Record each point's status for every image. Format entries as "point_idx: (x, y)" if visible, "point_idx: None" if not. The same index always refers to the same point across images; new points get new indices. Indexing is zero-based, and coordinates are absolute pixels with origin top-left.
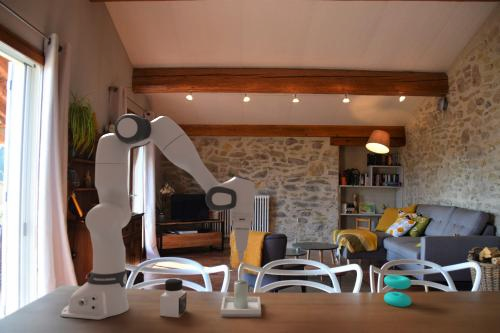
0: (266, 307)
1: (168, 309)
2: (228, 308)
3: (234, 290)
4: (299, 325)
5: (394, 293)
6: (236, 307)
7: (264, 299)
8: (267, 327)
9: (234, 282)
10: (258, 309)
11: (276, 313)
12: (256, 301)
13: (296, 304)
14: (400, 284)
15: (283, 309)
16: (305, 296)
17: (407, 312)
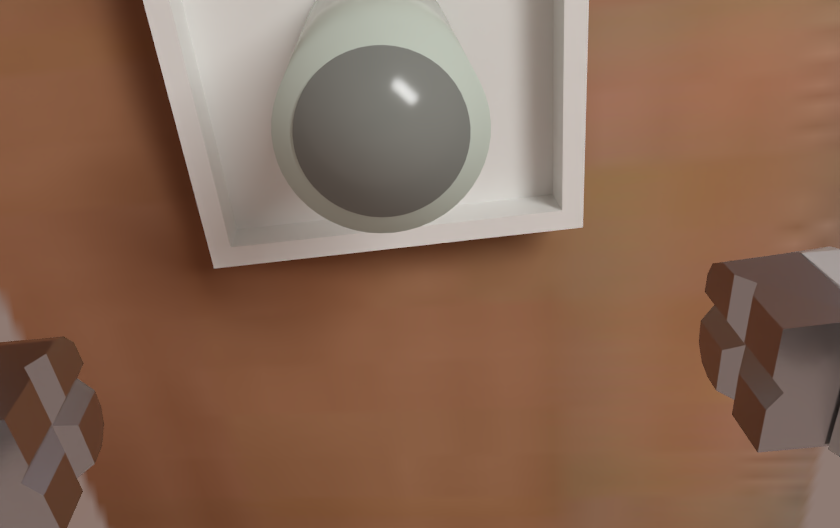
0: (462, 264)
1: None
2: None
3: (337, 10)
4: (136, 477)
5: None
6: (311, 9)
7: (672, 235)
8: (21, 297)
9: (353, 28)
10: (215, 246)
11: (332, 341)
12: (548, 186)
13: (543, 456)
14: None
15: (428, 383)
16: (718, 504)
17: None
